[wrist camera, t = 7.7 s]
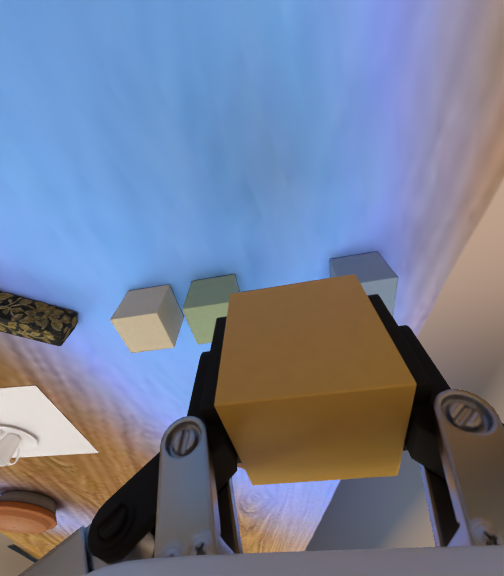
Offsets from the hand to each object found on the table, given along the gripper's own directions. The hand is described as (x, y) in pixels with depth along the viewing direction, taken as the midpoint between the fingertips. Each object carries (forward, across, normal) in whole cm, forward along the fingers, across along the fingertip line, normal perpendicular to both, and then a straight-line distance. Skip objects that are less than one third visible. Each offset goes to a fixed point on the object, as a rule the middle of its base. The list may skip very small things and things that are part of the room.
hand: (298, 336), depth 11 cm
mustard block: (0, 0, 0) cm, 0 cm away
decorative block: (+16, +30, +4) cm, 35 cm away
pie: (+16, +66, +56) cm, 88 cm away
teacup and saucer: (+16, +48, +28) cm, 57 cm away
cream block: (+16, +14, +8) cm, 23 cm away
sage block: (+16, +8, +8) cm, 19 cm away
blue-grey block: (+16, -6, +8) cm, 19 cm away
